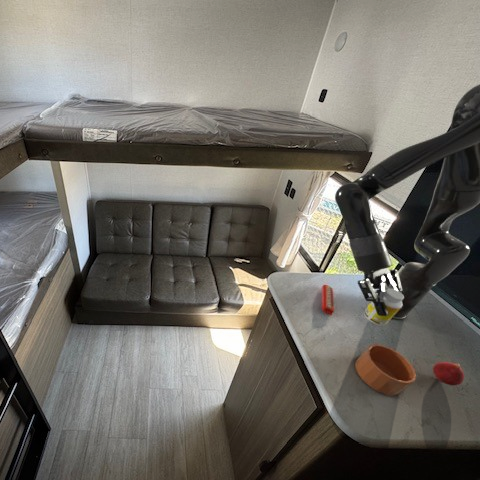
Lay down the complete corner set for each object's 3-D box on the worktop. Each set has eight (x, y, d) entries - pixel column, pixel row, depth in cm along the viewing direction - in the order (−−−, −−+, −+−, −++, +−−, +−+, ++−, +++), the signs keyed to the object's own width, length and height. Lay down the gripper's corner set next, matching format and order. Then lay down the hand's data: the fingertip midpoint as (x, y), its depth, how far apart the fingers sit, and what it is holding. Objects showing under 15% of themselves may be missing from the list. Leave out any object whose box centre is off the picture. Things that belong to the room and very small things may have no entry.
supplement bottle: (390, 324, 71) (413, 300, 65) (375, 327, 70) (396, 302, 64) (373, 309, 75) (393, 284, 69) (358, 311, 74) (377, 287, 68)
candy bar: (331, 317, 91) (335, 312, 89) (320, 313, 92) (324, 308, 90) (330, 289, 103) (333, 284, 101) (320, 286, 104) (323, 281, 102)
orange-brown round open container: (369, 352, 80) (381, 339, 76) (408, 386, 72) (424, 373, 68) (346, 364, 76) (358, 351, 72) (385, 402, 68) (401, 389, 64)
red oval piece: (457, 392, 71) (479, 378, 67) (435, 387, 72) (455, 373, 68) (443, 372, 76) (462, 357, 71) (422, 368, 77) (440, 353, 72)
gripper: (367, 255, 64) (390, 321, 62) (400, 244, 69) (422, 305, 67) (338, 259, 71) (358, 318, 69) (370, 249, 76) (390, 304, 74)
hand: (390, 311), depth 68 cm, fingers closed on supplement bottle, 5 cm apart
